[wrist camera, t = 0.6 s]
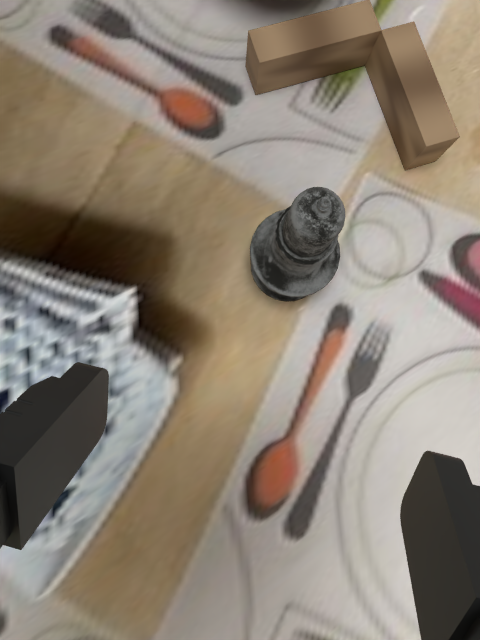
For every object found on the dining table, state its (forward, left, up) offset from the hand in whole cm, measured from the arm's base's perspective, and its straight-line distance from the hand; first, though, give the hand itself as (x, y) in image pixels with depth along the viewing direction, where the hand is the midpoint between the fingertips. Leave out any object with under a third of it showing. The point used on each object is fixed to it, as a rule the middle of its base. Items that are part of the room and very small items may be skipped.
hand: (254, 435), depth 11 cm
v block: (-13, +22, -20) cm, 32 cm away
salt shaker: (-5, +9, -20) cm, 22 cm away
